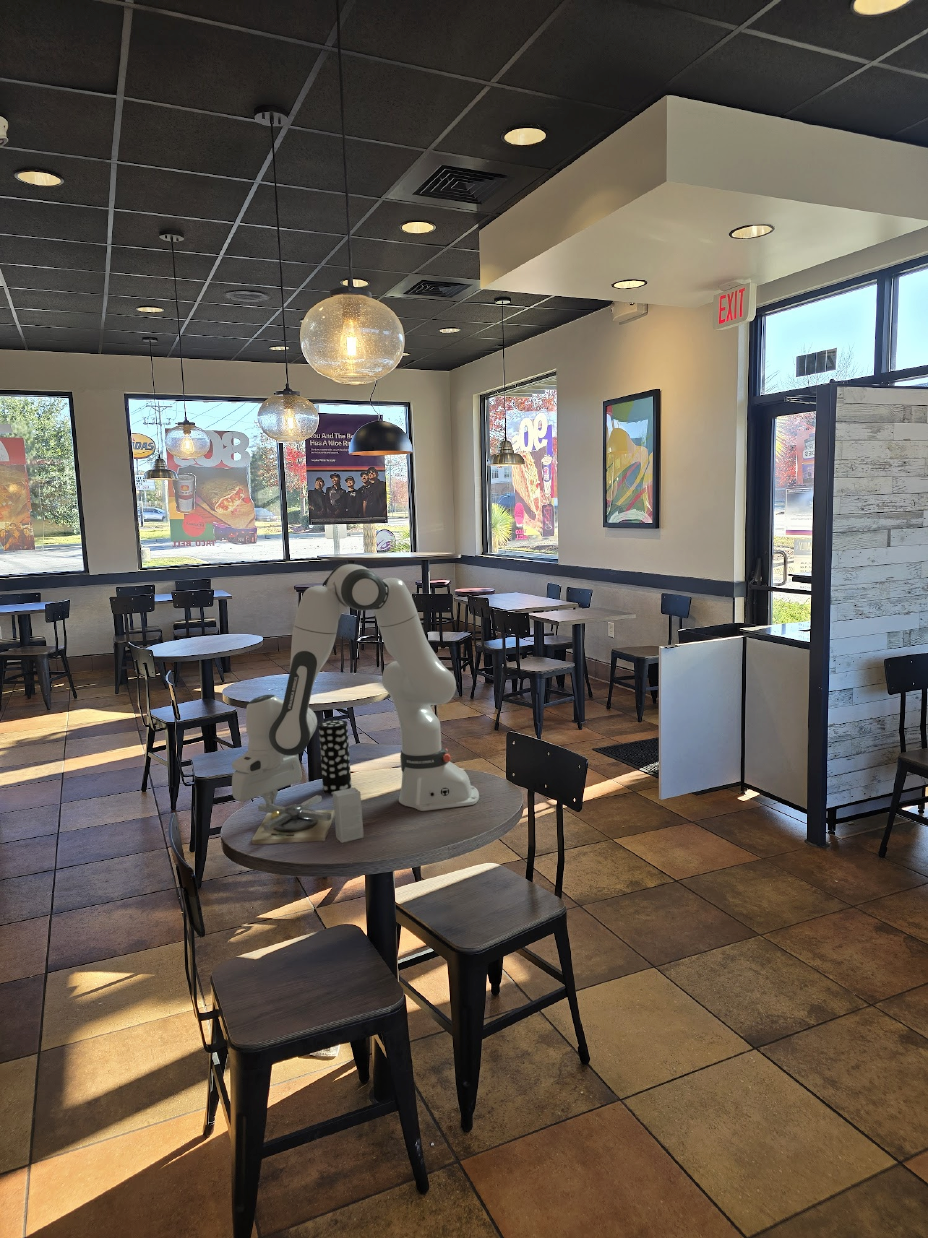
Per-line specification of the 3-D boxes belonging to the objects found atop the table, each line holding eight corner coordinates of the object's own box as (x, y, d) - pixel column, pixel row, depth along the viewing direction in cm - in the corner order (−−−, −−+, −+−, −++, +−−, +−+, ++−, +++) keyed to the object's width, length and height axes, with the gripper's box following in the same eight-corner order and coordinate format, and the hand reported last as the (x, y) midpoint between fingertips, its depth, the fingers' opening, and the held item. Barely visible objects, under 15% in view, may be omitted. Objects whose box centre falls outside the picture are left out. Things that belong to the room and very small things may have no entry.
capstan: (321, 807, 217) (320, 792, 216) (332, 828, 201) (331, 812, 201) (258, 817, 211) (257, 802, 211) (265, 840, 196) (263, 824, 195)
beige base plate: (334, 814, 216) (334, 809, 215) (324, 840, 198) (324, 835, 198) (268, 817, 215) (267, 812, 215) (251, 844, 197) (251, 838, 197)
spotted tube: (354, 784, 239) (350, 719, 237) (347, 794, 231) (343, 727, 228) (327, 785, 240) (322, 720, 237) (319, 794, 232) (315, 727, 229)
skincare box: (358, 832, 202) (355, 786, 201) (363, 838, 198) (361, 791, 197) (335, 837, 199) (332, 791, 198) (340, 843, 196) (337, 796, 194)
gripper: (289, 745, 220) (293, 793, 221) (226, 765, 204) (231, 817, 206) (304, 748, 216) (308, 797, 217) (241, 769, 200) (245, 822, 202)
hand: (270, 807), depth 211 cm, fingers closed
